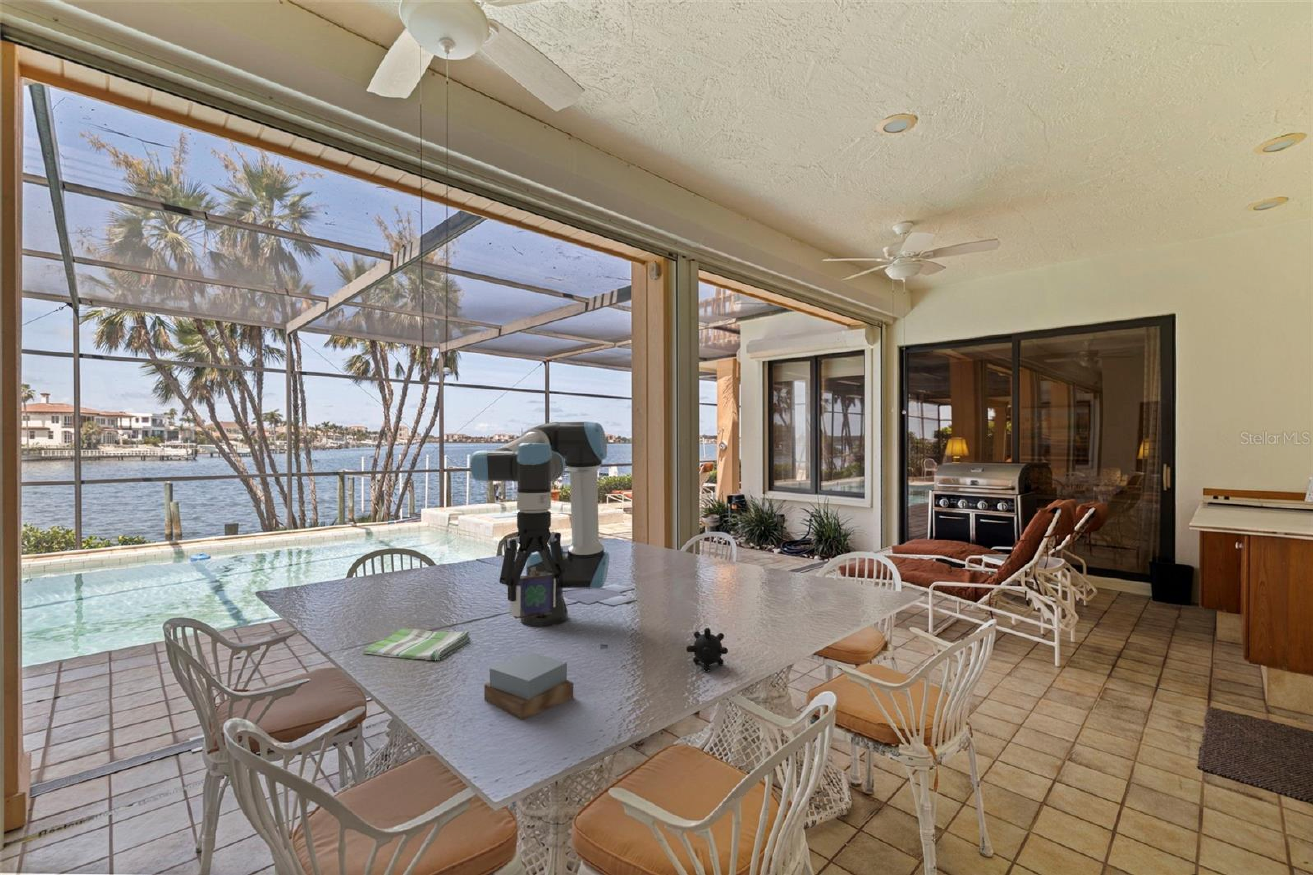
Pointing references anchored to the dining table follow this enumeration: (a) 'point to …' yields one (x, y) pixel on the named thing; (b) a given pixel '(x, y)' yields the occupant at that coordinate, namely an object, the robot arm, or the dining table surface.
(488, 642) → the dining table surface
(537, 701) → the tower base block
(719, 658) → the toy ball
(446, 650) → the dish towel
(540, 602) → the flask
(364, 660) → the dining table surface
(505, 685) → the tower top block
